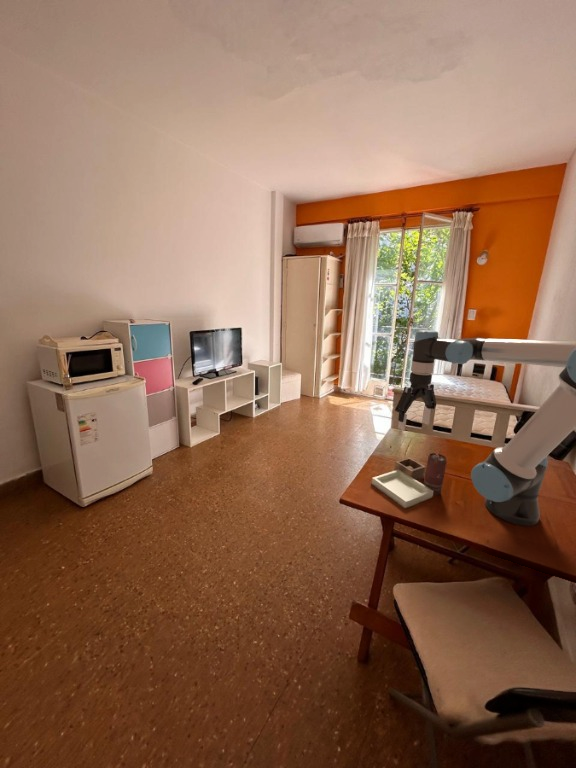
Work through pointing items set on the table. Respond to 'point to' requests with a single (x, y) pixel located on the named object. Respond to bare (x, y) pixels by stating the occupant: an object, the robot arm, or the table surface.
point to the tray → (402, 488)
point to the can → (435, 472)
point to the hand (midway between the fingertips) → (413, 426)
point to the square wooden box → (415, 473)
